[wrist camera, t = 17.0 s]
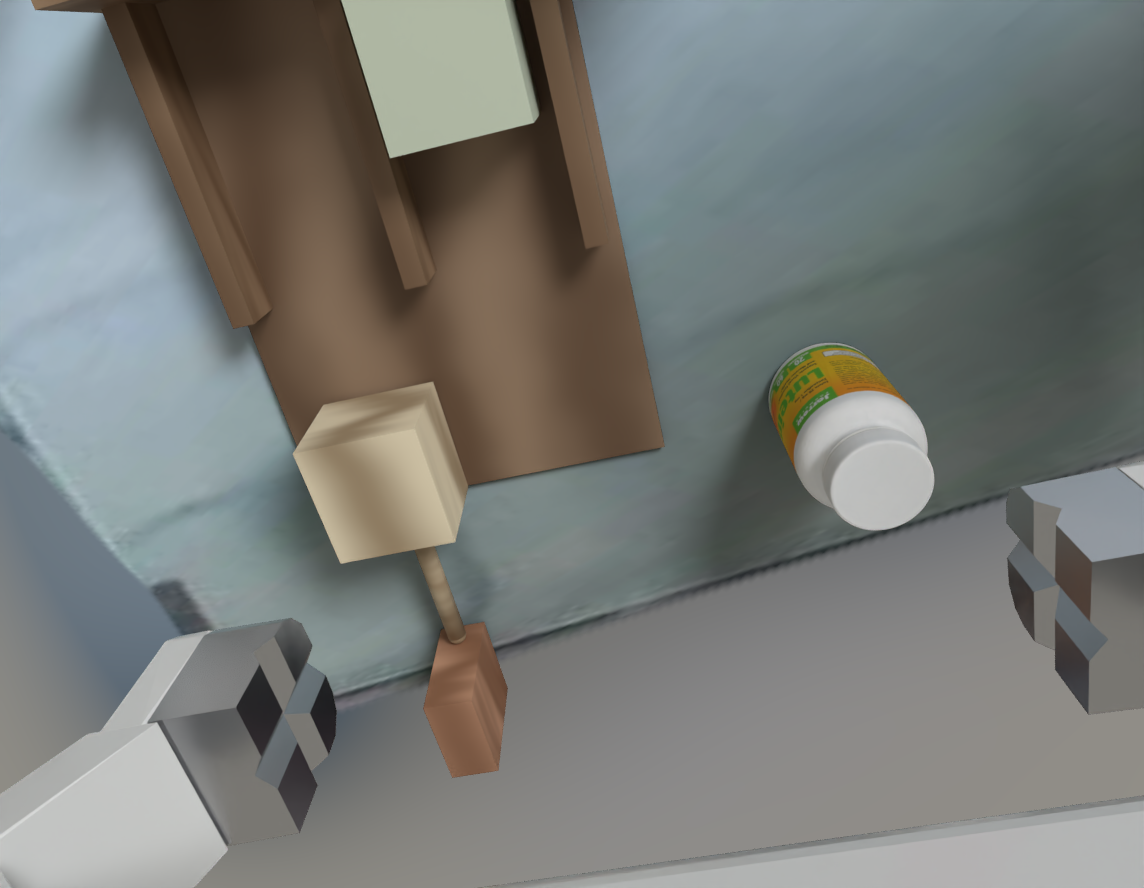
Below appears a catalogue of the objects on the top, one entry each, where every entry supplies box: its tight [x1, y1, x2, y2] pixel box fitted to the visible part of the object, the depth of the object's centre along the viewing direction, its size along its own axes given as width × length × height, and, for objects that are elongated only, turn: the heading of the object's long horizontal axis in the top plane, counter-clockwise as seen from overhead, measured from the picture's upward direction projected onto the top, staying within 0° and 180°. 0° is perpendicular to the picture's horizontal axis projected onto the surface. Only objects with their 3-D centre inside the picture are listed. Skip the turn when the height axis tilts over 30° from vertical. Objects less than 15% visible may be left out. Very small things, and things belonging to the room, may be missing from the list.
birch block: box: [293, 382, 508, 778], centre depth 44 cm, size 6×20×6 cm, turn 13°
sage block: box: [341, 0, 541, 158], centre depth 33 cm, size 6×6×5 cm
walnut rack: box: [31, 0, 665, 485], centre depth 36 cm, size 18×25×6 cm
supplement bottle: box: [769, 343, 934, 530], centre depth 38 cm, size 5×5×10 cm
